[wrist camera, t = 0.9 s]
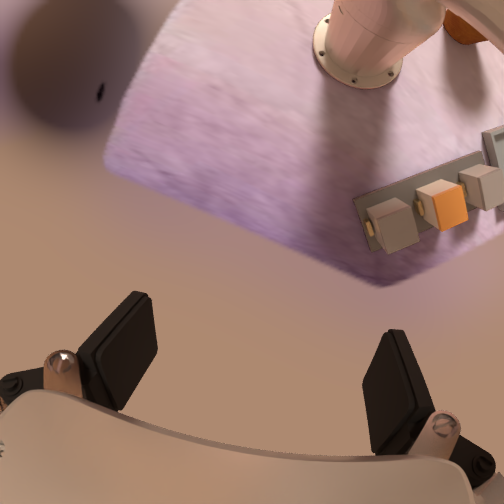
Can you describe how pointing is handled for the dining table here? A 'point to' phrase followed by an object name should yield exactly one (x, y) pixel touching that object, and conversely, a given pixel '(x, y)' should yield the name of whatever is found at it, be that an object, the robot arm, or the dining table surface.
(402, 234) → the fuse
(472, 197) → the block
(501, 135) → the tray
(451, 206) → the block
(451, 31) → the disposable coffee cup
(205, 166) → the dining table surface
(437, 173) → the fuse panel
